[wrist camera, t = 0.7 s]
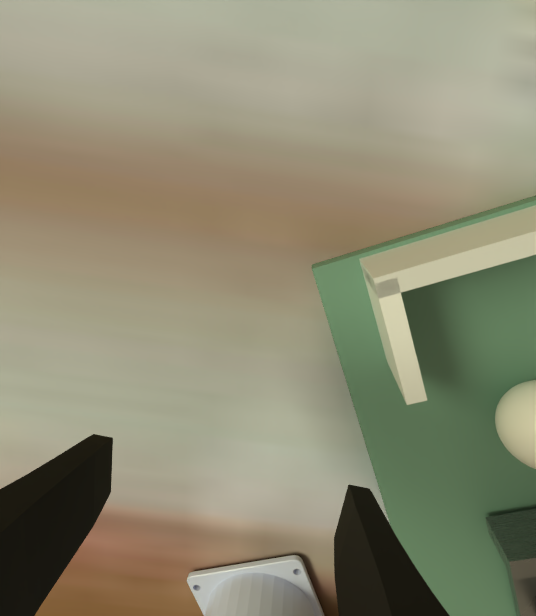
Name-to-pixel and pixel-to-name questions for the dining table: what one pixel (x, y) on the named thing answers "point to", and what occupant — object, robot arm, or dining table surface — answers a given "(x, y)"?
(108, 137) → the dining table surface
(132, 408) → the dining table surface
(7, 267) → the dining table surface
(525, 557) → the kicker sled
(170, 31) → the dining table surface
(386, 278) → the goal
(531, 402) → the ball
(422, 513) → the board
